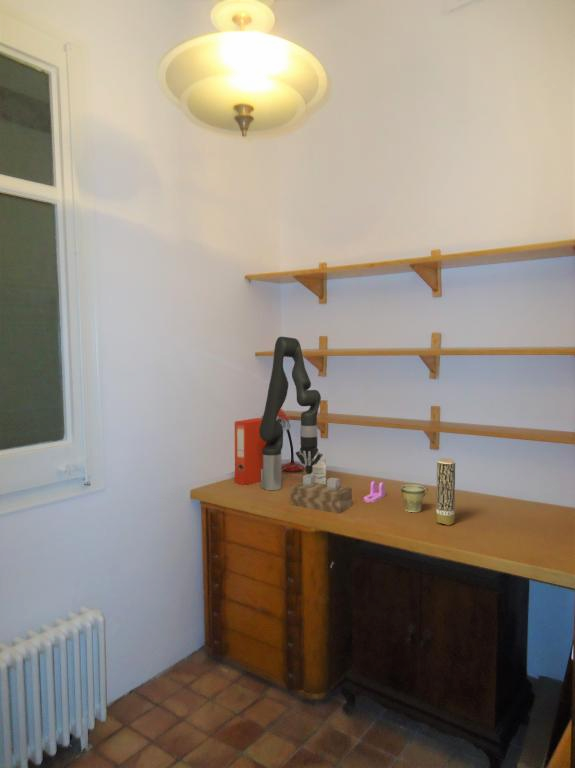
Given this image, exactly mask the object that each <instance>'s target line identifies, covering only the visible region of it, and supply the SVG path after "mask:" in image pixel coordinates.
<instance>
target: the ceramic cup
mask: <svg viewBox="0 0 575 768" xmlns="http://www.w3.org/2000/svg"><path fill="white" fill-rule="evenodd" d="M400 490H401V497H402V503H403V508H404V511H405V510H406V511H408V512H418V511H420V512H421V511H422V505H423V500H424V498H425V496H426V495H427V494H428V493H429V489H428V487H425V486H422V485H419V484H404V485H401V487H400ZM406 511H405V512H406ZM408 512H407V513H408Z"/></svg>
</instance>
